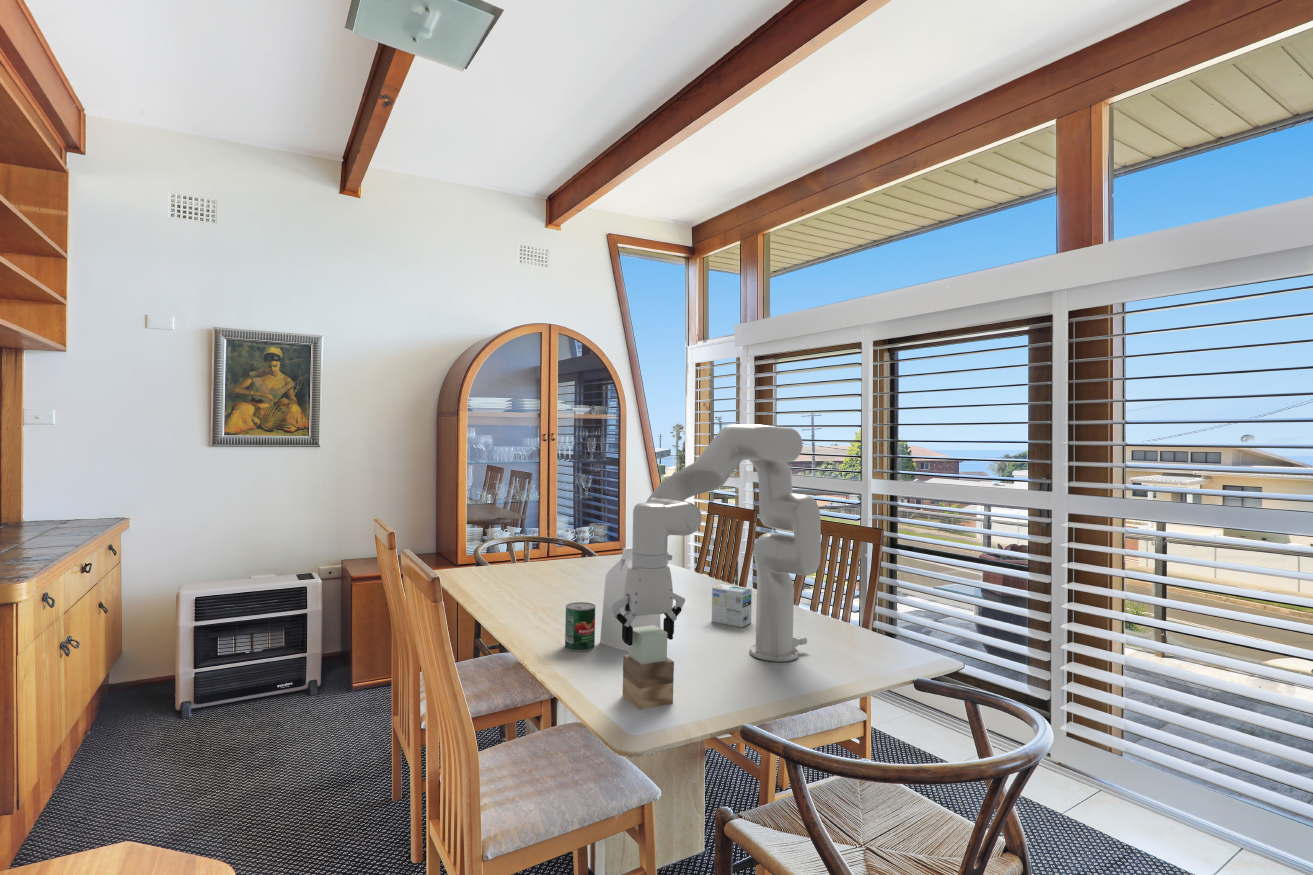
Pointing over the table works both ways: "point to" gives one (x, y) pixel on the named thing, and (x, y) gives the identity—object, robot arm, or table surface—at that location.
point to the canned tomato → (580, 626)
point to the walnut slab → (648, 672)
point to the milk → (612, 594)
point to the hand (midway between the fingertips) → (648, 640)
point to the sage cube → (648, 645)
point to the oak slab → (647, 695)
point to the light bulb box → (731, 605)
